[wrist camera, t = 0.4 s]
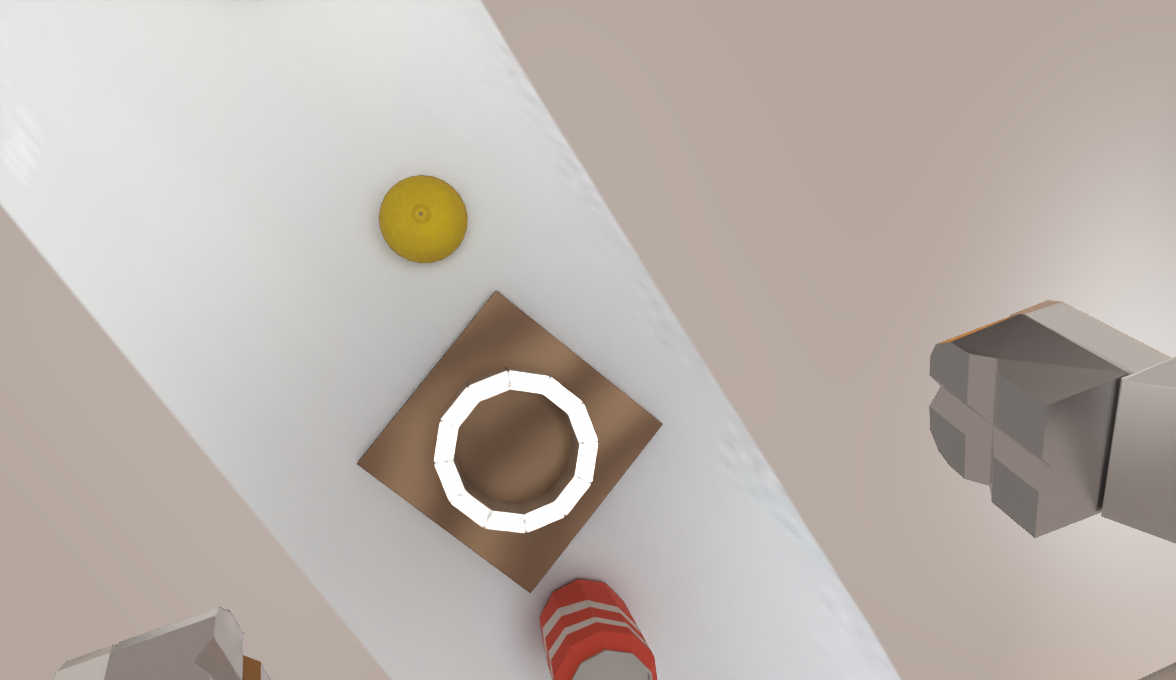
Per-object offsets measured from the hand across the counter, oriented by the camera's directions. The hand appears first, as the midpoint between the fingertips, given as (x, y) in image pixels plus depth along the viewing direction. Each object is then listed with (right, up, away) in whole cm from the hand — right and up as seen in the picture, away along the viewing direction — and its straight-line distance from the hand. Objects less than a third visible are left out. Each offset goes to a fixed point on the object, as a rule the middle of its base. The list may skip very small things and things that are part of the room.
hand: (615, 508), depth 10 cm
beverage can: (-1, -18, +53) cm, 56 cm away
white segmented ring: (-5, -5, +50) cm, 51 cm away
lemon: (-11, +10, +50) cm, 52 cm away
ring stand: (-6, -5, +51) cm, 52 cm away
